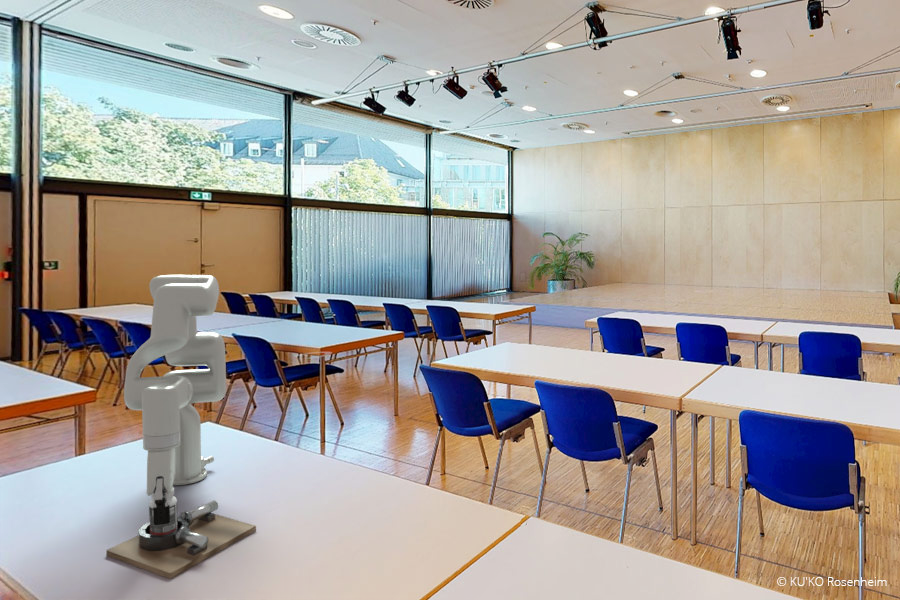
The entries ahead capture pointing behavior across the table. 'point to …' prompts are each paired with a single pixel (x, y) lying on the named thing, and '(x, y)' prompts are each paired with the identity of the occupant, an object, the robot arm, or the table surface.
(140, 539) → the stand
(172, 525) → the pill bottle
